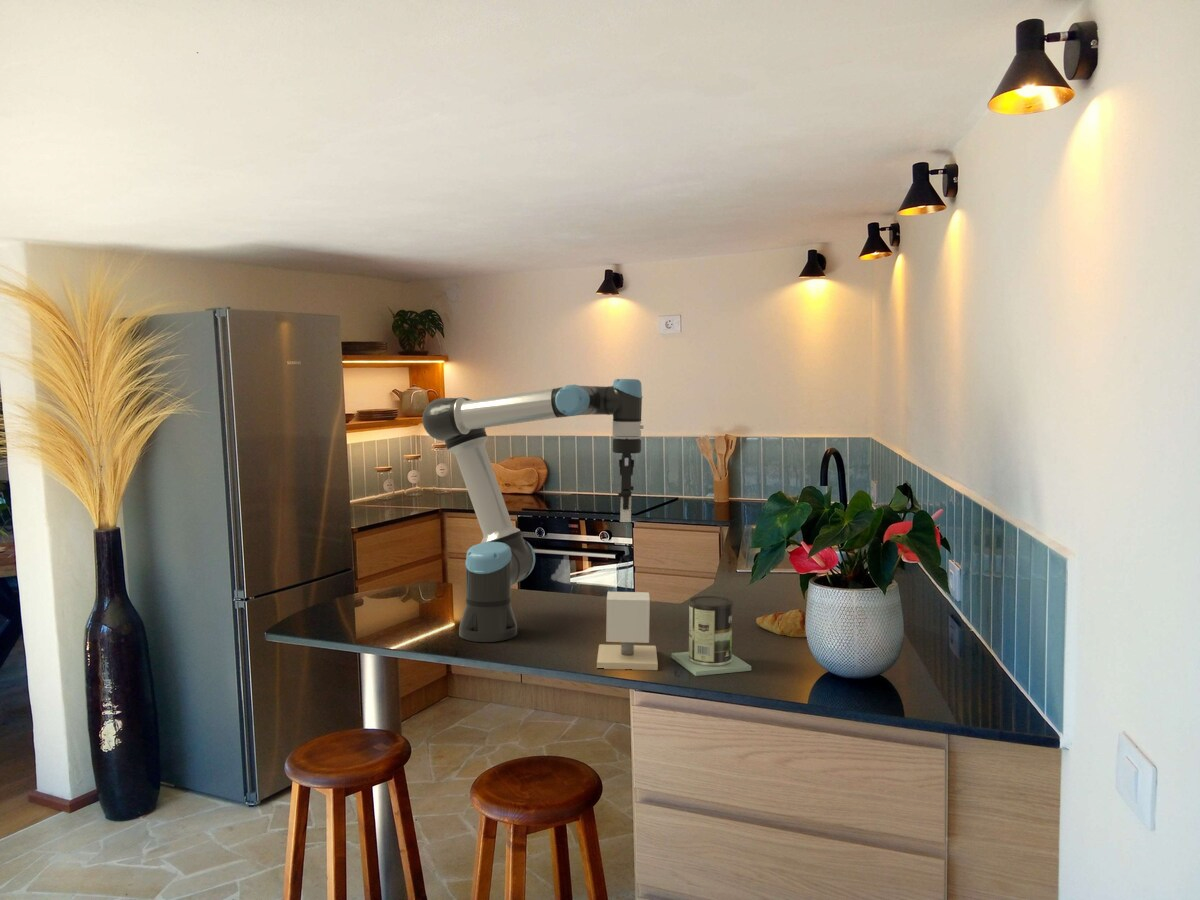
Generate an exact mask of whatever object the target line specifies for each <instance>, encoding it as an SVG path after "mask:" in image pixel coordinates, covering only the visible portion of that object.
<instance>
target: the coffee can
mask: <svg viewBox="0 0 1200 900" xmlns="http://www.w3.org/2000/svg"><path fill="white" fill-rule="evenodd" d="M733 603H734V601H733V600H732V599H730V598H728V597H724V596H723V597H722V596H717V595H716V596H715V595H698V596H694V597H691V598H689V599H688V606H689V607H688V613H689V615H688V617H689V619H688V625H689V626H688V652H689V657H688V659H689V660H690V661H691V662H693V663H695V664H699V665H705V666H721V665H726V664H729V663H730V662H731V661H732V654H733V653H732V651H733V650H732V646H733V645H732V643H733V641H732V639H733V630H732V629H733Z"/></svg>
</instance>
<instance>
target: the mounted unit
mask: <svg viewBox="0 0 1200 900" xmlns="http://www.w3.org/2000/svg"><path fill="white" fill-rule="evenodd" d="M650 600H651V599H650V592H649V591H648V592H647V591H646V592H644V591H642V592H641V591H607V595H606V620H605V621H606V624H605V625H606V627H605V628H606V629H605V633H606V635H605V639H606V640H605V642H606V643H608V642H609V643H620V644H601V643H600V644H599V645H598V652H597V658H596V669H597V668H604V669H603V670H625V669H632V671H633V670H634V671H658V669H659V668H658V667H659V666H658V665H659V664H658V654H657V653H658V652H657V647H656V646H657V645H643V644H644V643H645V644H649V643H650V615H651V614H650V612H651V611H650V606H651V605H650V603H651V602H650ZM635 643H643V644H642V645H641V644H639V645H637V644H635Z"/></svg>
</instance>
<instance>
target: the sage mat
mask: <svg viewBox="0 0 1200 900" xmlns="http://www.w3.org/2000/svg"><path fill="white" fill-rule="evenodd" d="M688 657H689V651H683V652H672V653H671V658H672V659H673V660H674V661H676V662H677V663H678V664H680V666H682V667H683V668H685V669H686V670H687V671H688V672H689V673H691V674H692V675H694V677H698V676H699V677H700V676H701V677H702V676H710V675H711V676H712V675H720V674H728V673H729V674H730V673H740V672H749V671H752V665H750V664H748V662H745V661H744V660H743V659H741V658H739V657H738V656H736V655H734V653H732V661H731V662H730V663H729V664H726V665H721V666H705V665H699V664H695V663H693V662H691V661H690V660H689V659H688Z"/></svg>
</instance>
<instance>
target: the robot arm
mask: <svg viewBox="0 0 1200 900" xmlns="http://www.w3.org/2000/svg"><path fill="white" fill-rule="evenodd" d="M642 392H643V391H642V381H641V380H640V379H635V378H615V379H613V383H612V385H610V386H595V385H593V386H591V385H577V384H567V385H565V386H562V387H556V388H555V387H554V388H547V389H540V390H535V391H533V390H532V391H527V392H526V391H525V392H520V393H513V394H505V395H500V396H492V397H484V398H479V399H478V398H477V399H471V398H467V397H439V398H436V399H433V400H432V401H430V402H429V403H427V406H425V409H424V411H423V413H422V419H421V420H422V421H421V422H422V425H423V428H424V430H425V432H426V433H427V434H428V435H429V436H430V437H431V438H432V439H435V440H438V441H441V442H444V443H445V447H446V450H447V452H448V453H450V454H453V455H454V456H455V458H456V461H457V464H458V467H459V470H460V473H461V477H462V478H463V481H464V484H465V487H466V489H467V493H468V496H469V499H470V501H471V504H472V506H473V507H472V508H473V510H474V513H475V515H476V519H477V522H478V524H479V527H480V530H481V533H482V536H483V537H482V540H481V541H480V543H477V544H473V545H472V546H471V547H469V548H468V549H467V551H466V554H465V555H466V556H465V557H466V559H465V561H464V562H465V608H464V611H463V614H462V617H461V620H460V623H459V626H458V627H459V628H458V635H459V637H460V638H461V639H463V640H466V641H469V642H476V643H495V642H502V641H507V640H511V639H513V638H515V637H516V636H517V635H518V624H517V620H516V617H515V614H514V611H513V607H512V603H511V600H512V597H511V596H512V594H511V593H512V588H511V587H512V586H514V585H515V584H516V583H520V582H522V581H524V580H525V579H526V578H527V577H528V576H529V575H530V574H531V573H532V571H533V570H534V567H535V564H536V553H535V549H534V548H533V545H531V544H530V542H528V541H526V540H525V539H524V538H523V534H522V532H521V530H520V528H517V527H515V526H514V525H513V521H512V520H511V517H510V515H509V511H508V508H507V506H506V502H505V499H504V496H503V494H502V491H501V489H500V488H501V487H500V486H499V483H498V480H497V477H496V474H495V472H494V468H493V466H492V462H491V459H490V457H489V454H488V451H487V448H486V443H487V440H488V439H489V437H488V434H487V431H486V428H493V427H500V426H507V425H514V424H515V425H516V424H522V423H528V422H530V423H531V422H536V421H544V420H551V419H557V418H558V419H559V418H566V417H567V418H568V417H577V416H589V415H590V416H591V415H593V416H594V415H596V416H598V415H599V416H601V415H606V416H608V415H609V416H611V415H612V436H613V437H614V438H613V439H612V452H613V453H614V454H622V455H621V459H618V467H619V476H621V483H620V484H621V488H620V490H621V491H620V492H618V494H617V496H618V497H620V509H619V510H620V514H619V515H620V517H619V518H620V521H619V522H620V523H631V522H632V491H634V486H633V485H632V476H633V475H634V468H635V459H632V456H633V455H632V454H640V453H641V451H642V440H641V438H640V437H642V430H643V429H644V427H645V426H644V425H643V424H642V407H643V406H642V405H643V404H642V403H643V393H642Z"/></svg>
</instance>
